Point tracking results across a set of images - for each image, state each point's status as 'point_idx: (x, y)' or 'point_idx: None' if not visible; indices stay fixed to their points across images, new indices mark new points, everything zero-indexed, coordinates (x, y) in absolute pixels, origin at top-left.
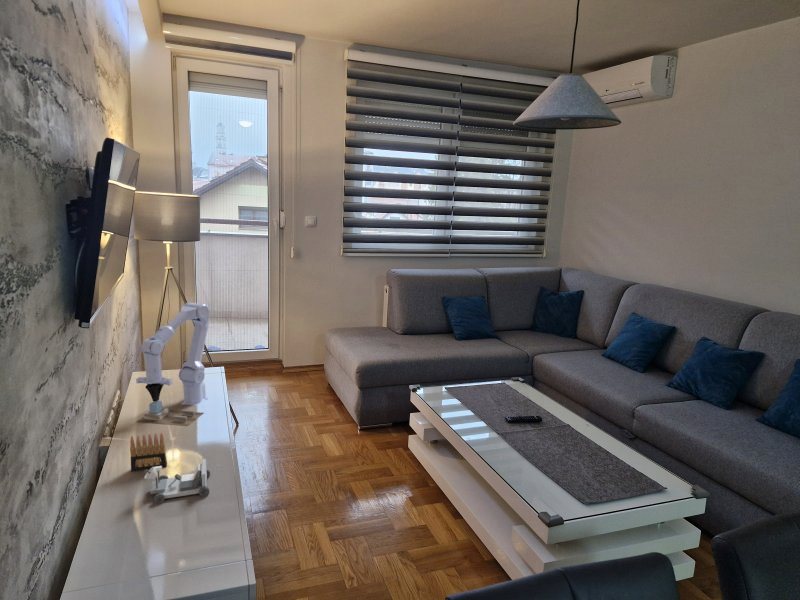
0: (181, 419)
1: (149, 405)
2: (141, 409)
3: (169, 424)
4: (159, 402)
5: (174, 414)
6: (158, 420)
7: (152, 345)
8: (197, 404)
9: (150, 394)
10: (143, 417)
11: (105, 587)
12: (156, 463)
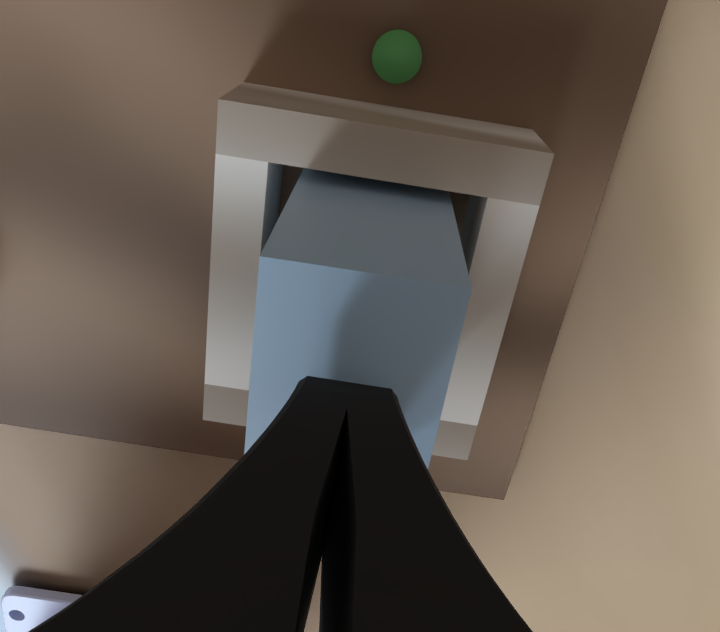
0: None
1: (461, 272)
2: (712, 520)
3: None
4: (254, 402)
5: (117, 328)
6: (251, 79)
7: None
8: (10, 611)
9: (453, 531)
10: (580, 209)
11: None
12: None
